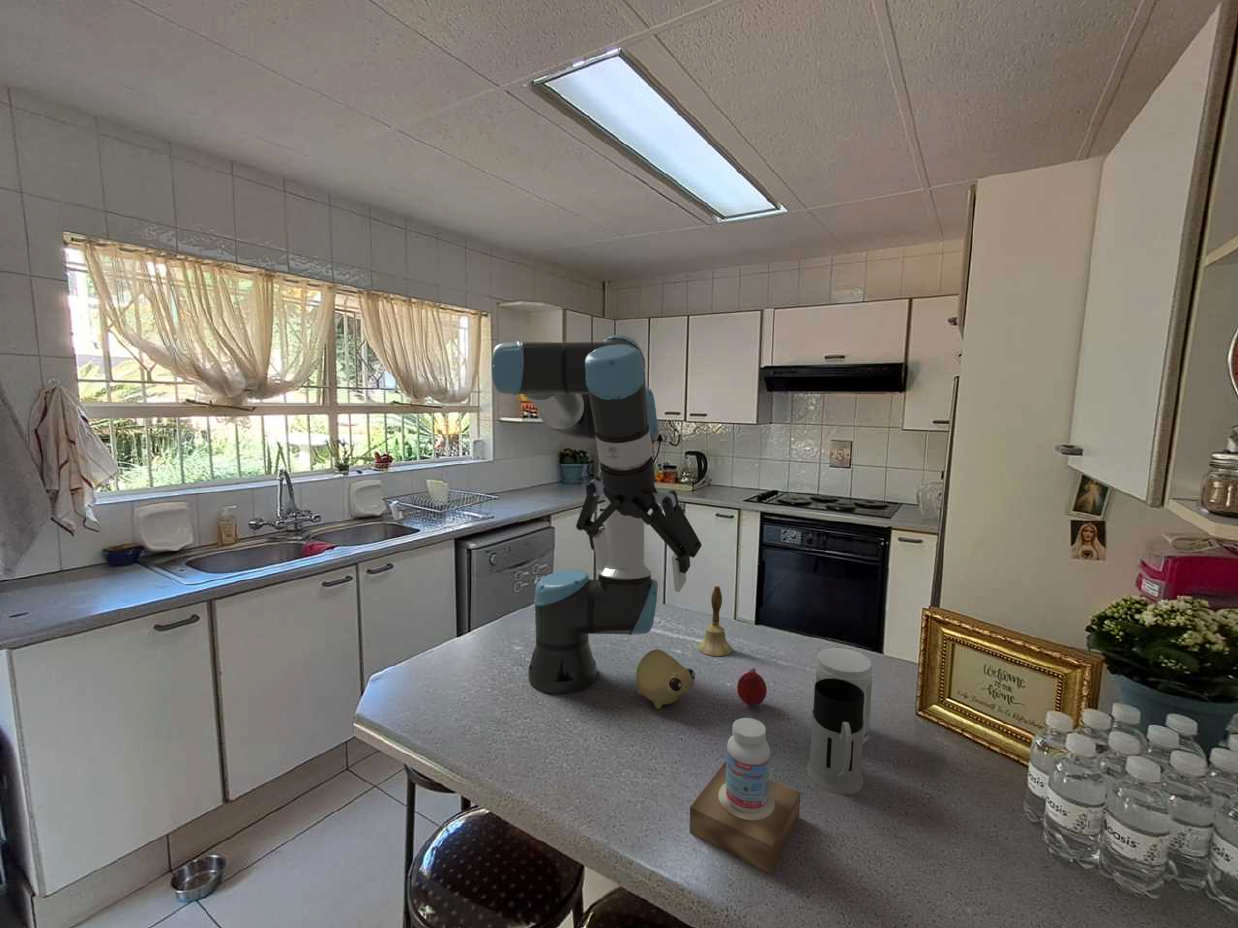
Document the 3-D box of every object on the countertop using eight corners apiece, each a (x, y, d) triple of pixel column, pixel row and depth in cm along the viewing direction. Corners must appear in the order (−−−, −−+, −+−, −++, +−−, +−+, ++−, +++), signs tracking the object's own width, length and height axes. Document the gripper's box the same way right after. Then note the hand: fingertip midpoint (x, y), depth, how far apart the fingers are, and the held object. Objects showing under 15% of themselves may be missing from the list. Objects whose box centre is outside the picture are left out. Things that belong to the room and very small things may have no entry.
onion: (766, 715, 107) (768, 677, 106) (736, 712, 109) (738, 674, 108) (765, 699, 113) (766, 663, 112) (736, 696, 114) (737, 660, 113)
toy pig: (673, 725, 104) (673, 672, 103) (626, 701, 113) (626, 651, 111) (702, 704, 112) (703, 654, 110) (657, 683, 120) (657, 636, 118)
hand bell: (707, 638, 142) (708, 579, 140) (737, 647, 137) (739, 585, 135) (692, 650, 135) (693, 588, 133) (723, 660, 130) (724, 595, 128)
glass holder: (857, 762, 94) (862, 679, 92) (876, 824, 80) (882, 729, 78) (804, 754, 96) (807, 673, 94) (813, 814, 82) (818, 721, 80)
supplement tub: (839, 713, 108) (843, 642, 106) (880, 740, 100) (885, 664, 98) (802, 726, 104) (805, 653, 102) (842, 755, 96) (846, 676, 94)
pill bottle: (721, 807, 78) (723, 733, 76) (729, 779, 83) (731, 710, 82) (765, 819, 76) (768, 744, 74) (770, 790, 81) (773, 719, 80)
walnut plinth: (689, 832, 79) (690, 805, 78) (724, 784, 88) (725, 760, 88) (771, 873, 72) (772, 844, 71) (799, 816, 82) (800, 791, 81)
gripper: (538, 458, 80) (563, 571, 90) (699, 486, 68) (706, 612, 78) (567, 435, 85) (587, 544, 95) (720, 458, 73) (724, 579, 84)
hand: (641, 575), depth 87 cm, fingers open, 13 cm apart
